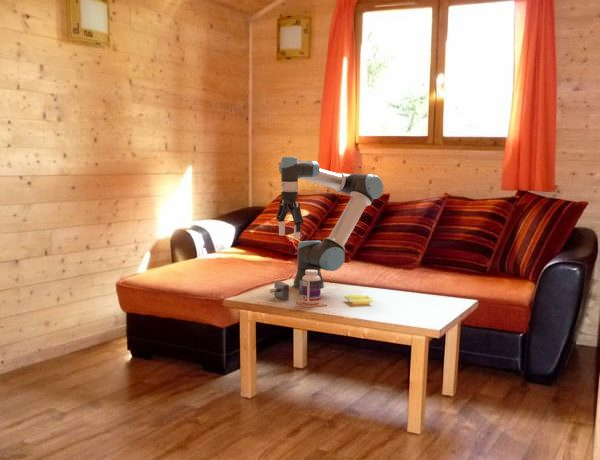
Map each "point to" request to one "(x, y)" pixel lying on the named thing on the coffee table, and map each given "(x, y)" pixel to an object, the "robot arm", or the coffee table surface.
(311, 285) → the pill bottle
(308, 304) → the tile
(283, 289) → the vise
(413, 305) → the coffee table surface
